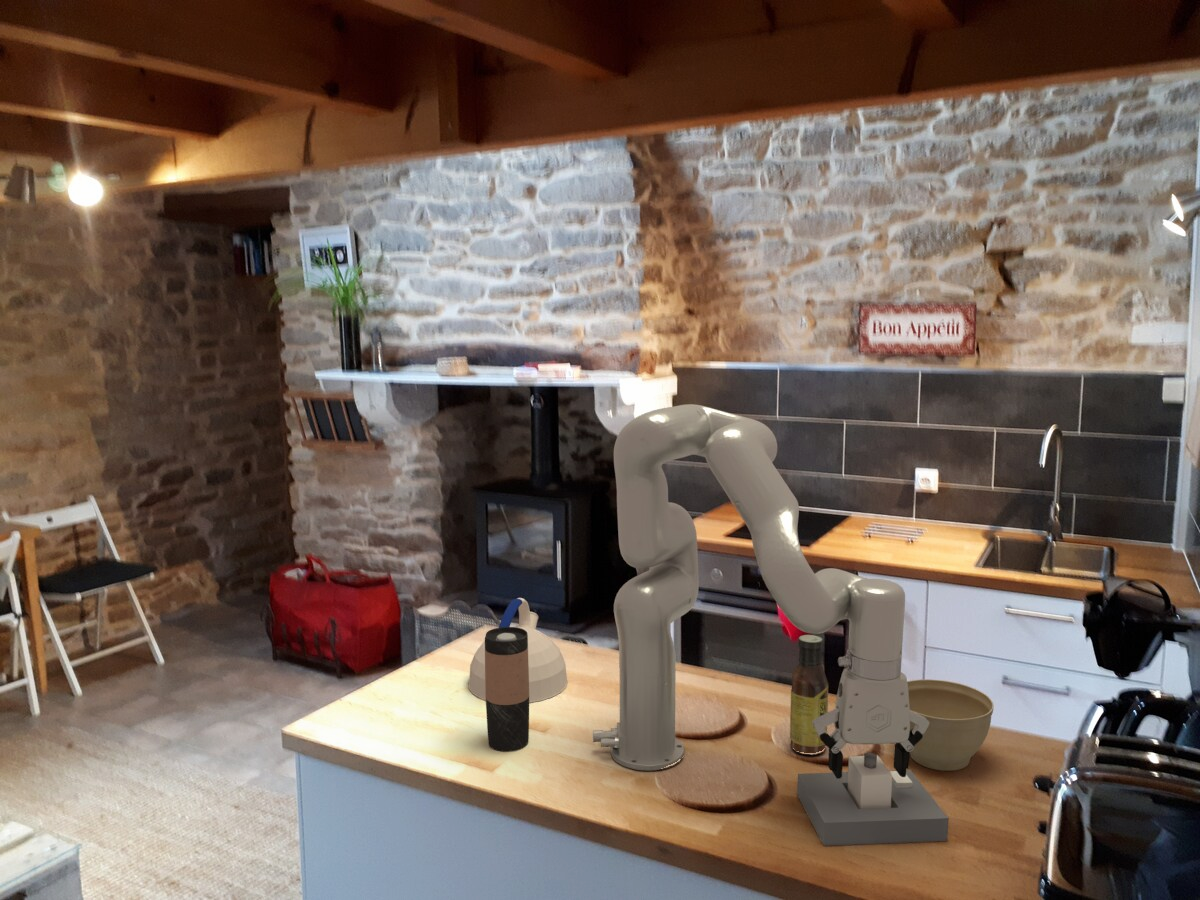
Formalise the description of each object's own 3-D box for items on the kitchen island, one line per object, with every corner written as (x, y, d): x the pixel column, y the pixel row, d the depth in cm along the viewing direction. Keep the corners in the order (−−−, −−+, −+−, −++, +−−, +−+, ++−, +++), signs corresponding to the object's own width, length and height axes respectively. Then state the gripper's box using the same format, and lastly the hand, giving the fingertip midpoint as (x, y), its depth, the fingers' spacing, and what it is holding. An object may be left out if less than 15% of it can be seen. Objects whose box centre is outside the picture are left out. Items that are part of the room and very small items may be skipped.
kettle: (578, 669, 196) (578, 587, 193) (552, 710, 176) (550, 619, 173) (489, 661, 201) (487, 581, 198) (452, 700, 181) (450, 611, 178)
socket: (823, 845, 131) (824, 817, 130) (797, 794, 145) (797, 768, 144) (947, 840, 132) (948, 812, 131) (909, 790, 146) (910, 765, 145)
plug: (860, 820, 135) (862, 765, 134) (847, 799, 141) (849, 746, 140) (890, 819, 135) (892, 764, 134) (876, 798, 141) (878, 745, 140)
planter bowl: (898, 729, 167) (900, 672, 165) (994, 749, 159) (998, 689, 158) (879, 768, 153) (882, 706, 151) (984, 791, 145) (988, 726, 144)
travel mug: (539, 741, 163) (537, 633, 160) (506, 757, 157) (504, 645, 154) (510, 728, 168) (508, 623, 165) (477, 743, 163) (474, 634, 160)
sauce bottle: (827, 759, 156) (830, 647, 153) (789, 755, 157) (792, 644, 154) (825, 741, 162) (829, 633, 159) (789, 738, 164) (792, 631, 161)
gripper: (823, 675, 130) (818, 787, 133) (942, 673, 131) (934, 785, 134) (808, 655, 138) (803, 762, 141) (921, 653, 139) (914, 759, 142)
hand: (867, 773), depth 137 cm, fingers open, 9 cm apart
